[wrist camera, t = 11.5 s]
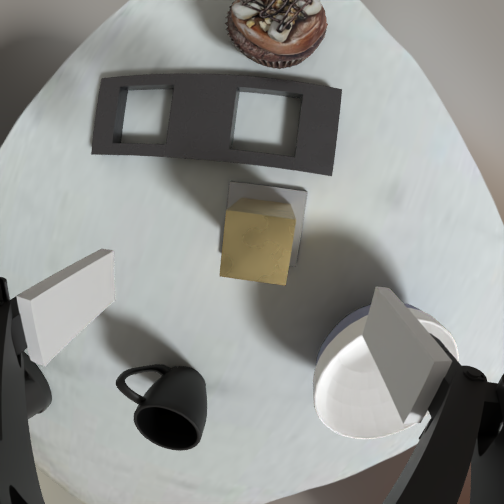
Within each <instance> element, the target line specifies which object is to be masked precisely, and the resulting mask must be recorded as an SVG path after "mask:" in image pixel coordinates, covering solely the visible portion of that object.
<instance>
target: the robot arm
mask: <svg viewBox="0 0 504 504" xmlns="http://www.w3.org/2000/svg"><path fill="white" fill-rule="evenodd" d="M114 301H115V274H114V251H113V250H107V249H100V250H98V251H96V252H94V253H92V254H91V255H89V256H87V257H85V258H83V259H81V260H79V261H77V262H75V263H74V264H72V265H70V266H68V267H66V268H64V269H63V270H61V271H59V272H57V273H55V274H54V275H52V276H50V277H48V278H46V279H45V280H43V281H41V282H39V283H38V284H36V285H34V286H32V287H31V288H29V289H27V290H26V291H24V292H22V293H21V294H19V295H17V296H16V297H14V298H13V299H11V300H10V298H9V292H8V286H7V280H6V279H5V278H3V277H0V504H45V502H44V500H43V497H42V493H41V489H40V485H39V481H38V477H37V472H36V467H35V463H34V457H33V452H32V446H31V440H30V433H29V426H28V419H29V418H31V417H33V416H34V415H36V414H39V413H42V412H43V411H45V410H46V409H47V407H48V406H49V405H50V404H51V401H52V395H51V391H50V388H49V385H48V383H47V381H46V379H45V378H44V376H43V374H42V373H41V371H40V370H39V368H38V367H37V366H36V365H35V363H37V364H40V365H42V366H44V367H45V366H46V365H47V364H48V363H49V362H50V361H51V360H52V359H53V358H54V357H55V356H56V355H57V354H58V353H59V352H60V351H61V350H62V349H63V348H64V347H65V346H66V345H67V344H68V343H69V342H70V341H71V340H73V339H74V338H75V337H76V336H77V335H78V334H79V333H80V332H81V331H82V330H83V329H84V328H85V327H86V326H88V325H89V324H90V323H91V322H92V321H93V320H94V319H95V318H96V317H97V316H98V315H99V314H101V313H102V312H103V311H104V310H105V309H106V308H107V307H108V306H109V305H111V304H112V303H113V302H114ZM362 336H363V338H364V340H365V342H366V344H367V346H368V349H369V351H370V353H371V355H372V357H373V359H374V361H375V363H376V365H377V367H378V369H379V372H380V374H381V376H382V378H383V380H384V382H385V384H386V387H387V389H388V391H389V393H390V395H391V398H392V400H393V402H394V404H395V406H396V409H397V411H398V413H399V416H400V418H401V420H402V422H403V424H412V423H421V421H422V419H423V418H424V416H425V414H426V412H427V411H429V413H430V415H431V419H430V421H429V422H428V424H427V426H426V427H425V429H424V431H423V432H422V434H421V435H420V437H419V439H420V440H419V442H418V444H417V446H416V448H415V450H414V452H413V454H412V456H411V458H410V459H409V461H408V463H407V465H406V466H405V468H404V470H403V471H402V473H401V475H400V477H399V478H398V480H397V482H396V483H395V485H394V486H393V488H392V490H391V491H390V493H389V494H388V496H387V497H386V499H385V500H384V502H383V503H382V504H457V502H458V499H459V497H460V494H461V491H462V488H463V485H464V482H465V479H466V476H467V473H468V469H469V466H470V463H471V494H470V504H504V374H503V375H502V377H501V379H500V381H499V383H498V384H497V383H491V382H487V378H486V376H485V375H484V374H483V373H482V372H481V371H480V370H478V369H476V368H474V367H470V366H461V365H460V363H459V362H458V361H457V360H456V359H455V357H454V356H453V355H452V354H451V353H450V352H449V350H448V349H447V348H446V347H445V345H444V344H443V343H442V342H441V341H440V340H439V339H438V338H437V337H435V336H434V335H432V334H431V333H429V332H428V331H427V330H426V329H425V328H424V326H423V325H422V324H421V323H420V322H419V321H418V320H417V318H416V317H415V316H414V315H413V314H412V313H411V312H410V310H409V309H408V308H407V307H406V306H405V305H404V304H403V302H402V301H401V300H400V299H399V298H398V297H397V296H396V295H395V294H394V293H393V291H392V290H391V289H390V288H385V287H377V286H376V287H375V291H374V295H373V299H372V302H371V306H370V310H369V313H368V317H367V320H366V324H365V327H364V331H363V334H362ZM26 348H27V349H28V353H29V356H30V358H29V357H28V356H27V355H26V354H25V353H24V352H23V351H24V350H25V349H26ZM34 362H35V363H34Z"/></svg>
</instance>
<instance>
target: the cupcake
mask: <svg viewBox="0 0 504 504" xmlns="http://www.w3.org/2000/svg"><path fill="white" fill-rule="evenodd" d="M227 14H228V16H227V17H226V19H227V20H228V22H227V23H225V24H226V25H227V26H228V28H227V29H226V30H227V31H228V32H229V33H228V35H229V36H230V37H231V38H232V40H231V42H233V43H234V44H235V46H236V47H238V48H239V50H240V51H241V52H244V53H245V54H246V55H247V57H248V58H250V59H252V60H253V61H255V62H256V63H258V64H262V65H263V66H267V67H272V68H278V69H280V68H286V67H291V66H294V65H297V64H299V63H301V62H302V61H304V60H305V59H306V58H308V56H310V55H311V54H312V53H313V52H314V51H315V50H316V49H317V48H318V46H319V44H320V43H321V41H322V40H323V38H325V33H326V28H327V25H328V24H327V23H326V22H327V21H326V16H325V10H324V8H323V6H322V4H321V2H320V0H235V2H233V3H232V6H230V11H229V12H227Z"/></svg>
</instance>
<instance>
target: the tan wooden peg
mask: <svg viewBox="0 0 504 504" xmlns="http://www.w3.org/2000/svg"><path fill="white" fill-rule="evenodd" d="M295 225H296V217H295V215H294V212H293V209H292V207H291V204H287V203H280V202H273V201H265V200H258V199H250V198H241V199H239V200H238V201H237V202H236V203H234V204H233V205H232V206H231V207H229V208H228V209H227V210H226V216H225V225H224V235H223V245H222V255H221V266H220V276H222V277H228V278H235V279H242V280H249V281H256V282H263V283H271V284H278V285H285V286H286V281H287V275H288V269H289V263H290V257H291V251H292V244H293V238H294V231H295Z"/></svg>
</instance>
